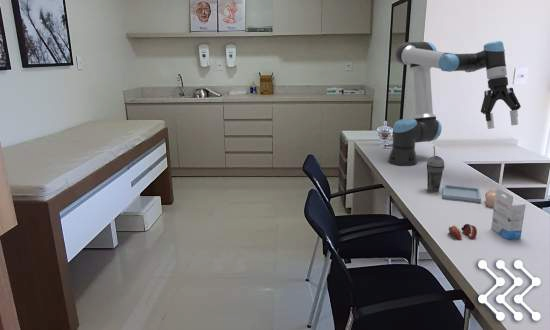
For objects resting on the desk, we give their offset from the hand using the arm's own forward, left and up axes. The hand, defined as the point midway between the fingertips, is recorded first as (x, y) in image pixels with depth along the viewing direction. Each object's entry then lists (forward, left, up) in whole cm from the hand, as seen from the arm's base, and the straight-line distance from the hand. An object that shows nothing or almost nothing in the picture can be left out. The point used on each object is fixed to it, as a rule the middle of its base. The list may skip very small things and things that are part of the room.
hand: (503, 126), depth 169 cm
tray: (+21, -14, -26) cm, 37 cm away
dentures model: (+62, -14, -27) cm, 69 cm away
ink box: (+55, -1, -27) cm, 61 cm away
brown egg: (+28, -3, -26) cm, 39 cm away
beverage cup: (+19, -25, -27) cm, 41 cm away
